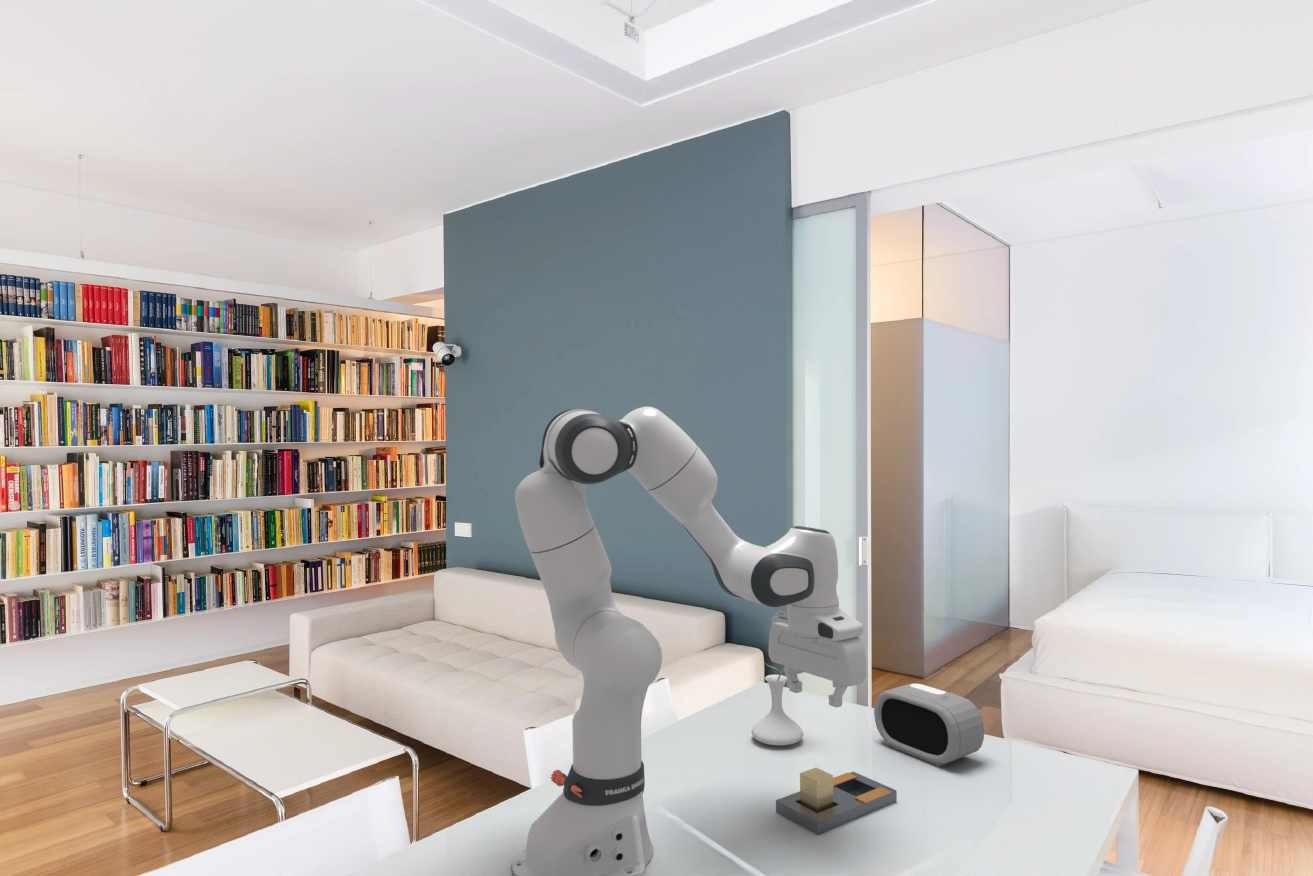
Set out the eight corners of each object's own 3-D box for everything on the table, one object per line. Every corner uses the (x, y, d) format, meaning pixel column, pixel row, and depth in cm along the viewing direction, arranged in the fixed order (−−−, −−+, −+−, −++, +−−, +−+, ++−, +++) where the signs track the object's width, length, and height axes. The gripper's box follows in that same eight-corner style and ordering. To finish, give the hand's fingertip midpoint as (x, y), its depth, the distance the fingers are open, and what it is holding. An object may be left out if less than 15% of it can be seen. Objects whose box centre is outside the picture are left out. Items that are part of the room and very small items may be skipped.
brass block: (817, 822, 132) (816, 781, 132) (800, 813, 135) (799, 773, 135) (833, 815, 134) (833, 775, 134) (816, 807, 137) (816, 767, 137)
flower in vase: (745, 746, 168) (743, 631, 168) (759, 728, 178) (757, 619, 179) (805, 755, 163) (803, 636, 163) (815, 735, 173) (813, 624, 173)
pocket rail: (818, 841, 128) (817, 821, 128) (776, 817, 136) (775, 799, 136) (896, 807, 139) (896, 789, 139) (853, 787, 147) (853, 770, 147)
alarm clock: (873, 742, 169) (872, 681, 169) (902, 733, 174) (901, 673, 174) (955, 775, 152) (954, 707, 152) (984, 764, 157) (983, 697, 157)
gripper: (759, 611, 142) (761, 687, 142) (845, 633, 125) (847, 719, 125) (784, 607, 145) (786, 680, 145) (871, 627, 128) (873, 710, 128)
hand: (815, 698), depth 135 cm, fingers open, 8 cm apart
